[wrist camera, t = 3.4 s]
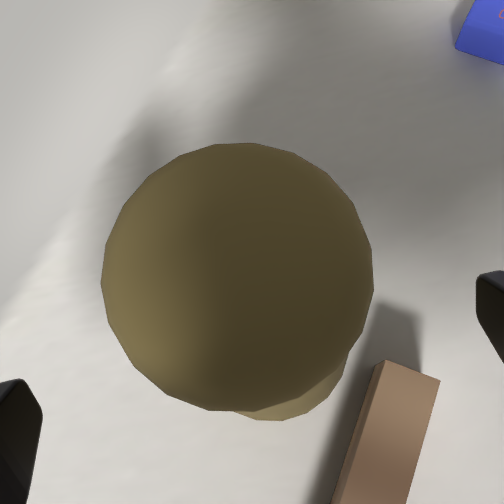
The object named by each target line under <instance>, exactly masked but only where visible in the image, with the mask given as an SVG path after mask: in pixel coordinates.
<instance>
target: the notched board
mask: <svg viewBox="0 0 504 504" xmlns="http://www.w3.org/2000/svg"><path fill="white" fill-rule="evenodd" d="M439 385H440V380H438V379H435V378H433V377H430V376H427V375H425V374H422V373H420V372H417V371H414V370H412V369H409V368H407V367H404V366H402V365H399V364H396V363H394V362H391V361H389V360H384V361H382V362H381V363H379V364H377V365H375V367H374V370H373V374H372V377H371V380H370V383H369V386H368V389H367V392H366V395H365V398H364V401H363V404H362V407H361V410H360V414H359V417H358V420H357V423H356V426H355V429H354V432H353V435H352V438H351V441H350V444H349V447H348V450H347V453H346V457H345V460H344V463H343V466H342V469H341V472H340V475H339V478H338V481H337V484H336V487H335V490H334V493H333V497H332V500H331V503H330V504H406V501H407V497H408V494H409V490H410V487H411V483H412V479H413V476H414V472H415V469H416V465H417V462H418V458H419V455H420V451H421V448H422V444H423V441H424V437H425V434H426V430H427V427H428V423H429V420H430V416H431V413H432V409H433V406H434V402H435V399H436V395H437V392H438V388H439Z"/></svg>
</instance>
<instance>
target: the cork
mask: <svg viewBox="0 0 504 504" xmlns="http://www.w3.org/2000/svg"><path fill="white" fill-rule="evenodd" d="M101 288H102V293H103V298H104V303H105V308H106V314H107V319H108V323H109V325H110V327H111V329H112V330H113V332H114V334H115V335H116V337H117V339H118V341H119V342H120V344H121V346H122V348H123V349H124V351H125V353H126V355H127V356H128V358H129V360H130V361H131V363H132V364H133V366H134V367H135V368H136V369H137V370H138V371H140V372H141V373H142V374H143V375H144V376H145V377H147V378H148V379H149V380H150V381H151V382H153V383H154V384H155V385H156V386H157V387H158V388H160V389H161V390H162V391H163V392H164V393H165V394H167V395H169V396H171V397H174V398H177V399H179V400H182V401H185V402H187V403H190V404H192V405H195V406H198V407H200V408H203V409H206V410H208V411H234V412H236V413H239V414H242V415H244V416H247V417H250V418H252V419H255V420H269V421H283V420H287V419H290V418H293V417H296V416H299V415H302V414H305V413H308V412H309V411H310V410H312V409H313V408H314V407H316V406H317V405H318V404H320V403H321V402H322V401H324V400H325V399H326V398H328V396H329V395H330V393H331V392H332V390H333V389H334V387H335V386H336V385H337V383H338V382H339V380H340V379H341V377H342V375H343V371H344V368H345V364H346V361H347V357H348V354H349V351H350V350H351V348H352V347H353V345H354V344H355V342H356V341H357V339H358V338H359V336H360V335H361V334H362V332H363V328H364V324H365V321H366V317H367V314H368V310H369V306H370V303H371V299H372V296H373V292H374V284H373V268H372V252H371V246H370V244H369V241H368V238H367V236H366V233H365V231H364V229H363V226H362V224H361V221H360V219H359V217H358V214H357V212H356V209H355V207H354V205H353V202H352V201H351V200H350V199H349V198H348V197H347V195H346V194H345V193H344V192H343V191H342V190H341V189H340V187H339V186H338V185H337V184H336V183H335V182H334V181H333V179H332V178H331V177H330V176H329V175H328V174H327V173H326V172H324V171H323V170H321V169H319V168H318V167H316V166H314V165H313V164H311V163H309V162H308V161H306V160H304V159H303V158H301V157H299V156H298V155H296V154H294V153H292V152H288V151H284V150H280V149H276V148H272V147H268V146H264V145H260V144H255V143H238V144H214V145H211V146H208V147H205V148H202V149H199V150H196V151H192V152H189V153H186V154H183V155H180V156H178V157H177V158H175V159H174V160H172V161H171V162H169V163H168V164H166V165H165V166H163V167H162V168H160V169H159V170H157V171H156V172H154V173H152V174H151V175H149V176H148V178H147V179H146V180H145V181H144V182H143V183H142V184H141V186H140V187H139V188H138V189H137V190H136V191H135V193H134V194H133V195H132V196H131V197H130V198H129V199H128V201H127V202H126V203H125V204H124V206H123V207H122V209H121V212H120V214H119V216H118V218H117V220H116V223H115V225H114V227H113V229H112V231H111V233H110V236H109V238H108V240H107V242H106V246H105V254H104V261H103V269H102V277H101Z"/></svg>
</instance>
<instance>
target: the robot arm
mask: <svg viewBox="0 0 504 504" xmlns="http://www.w3.org/2000/svg"><path fill="white" fill-rule="evenodd" d="M476 315H477V318H478V321H479V323H480V325H481V326H482V328H483V330H484V331H485V333H486V335H487V336H488V338H489V340H490V342H491V343H492V345H493V347H494V348H495V350H496V352H497V353H498V355H499V357H500V358H501V360H502V362H503V363H504V271H501V270H498V271H493V272H489V273H484V274H480V275H479V276H478V277H477V279H476ZM42 420H43V414H42V410H41V407H40V405H39V403H38V402H37V400H36V398H35V397H34V395H33V393H32V391H31V390H30V388H29V386H28V384H27V383H26V382H25V381H24V380H23V379H14V380H9V381H5V382H1V383H0V504H26V502H27V499H28V495H29V490H30V486H31V481H32V475H33V470H34V464H35V459H36V454H37V448H38V443H39V437H40V432H41V426H42Z"/></svg>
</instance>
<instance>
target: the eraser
mask: <svg viewBox="0 0 504 504" xmlns="http://www.w3.org/2000/svg"><path fill="white" fill-rule="evenodd" d="M455 48H456V49H458V50H460V51H462V52H465V53H469V54H472V55H475V56H478V57H481V58H484V59H487V60H490V61H493V62H496V63H499V64H502V65H504V0H475V2H474V4H473V6H472V8H471V10H470V12H469V14H468V16H467V18H466V20H465V22H464V24H463V27H462V29H461V32H460V34H459V37H458V39H457V42H456V44H455Z"/></svg>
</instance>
